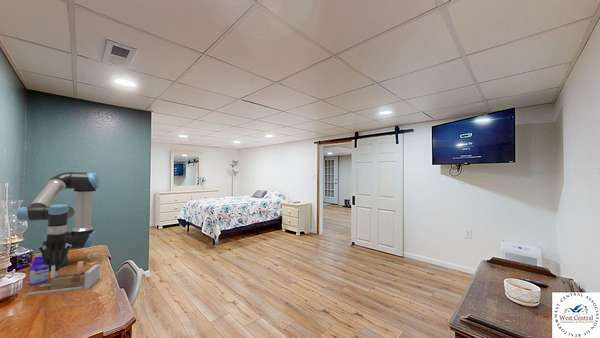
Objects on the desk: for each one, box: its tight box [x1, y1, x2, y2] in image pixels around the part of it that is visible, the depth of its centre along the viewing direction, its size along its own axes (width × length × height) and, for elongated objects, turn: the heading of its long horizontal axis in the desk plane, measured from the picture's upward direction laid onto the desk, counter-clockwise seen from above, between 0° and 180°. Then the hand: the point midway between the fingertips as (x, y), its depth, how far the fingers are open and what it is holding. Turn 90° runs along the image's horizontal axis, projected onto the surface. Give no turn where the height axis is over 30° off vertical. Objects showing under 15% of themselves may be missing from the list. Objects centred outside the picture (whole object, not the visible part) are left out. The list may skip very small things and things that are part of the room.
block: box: [49, 270, 88, 290], centre depth 128 cm, size 8×14×6 cm, turn 113°
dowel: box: [76, 260, 84, 276], centre depth 129 cm, size 2×2×12 cm
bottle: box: [28, 252, 49, 286], centre depth 132 cm, size 7×6×17 cm
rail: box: [26, 263, 101, 296], centre depth 127 cm, size 13×26×10 cm, turn 113°
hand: (53, 277), depth 125 cm, fingers closed
